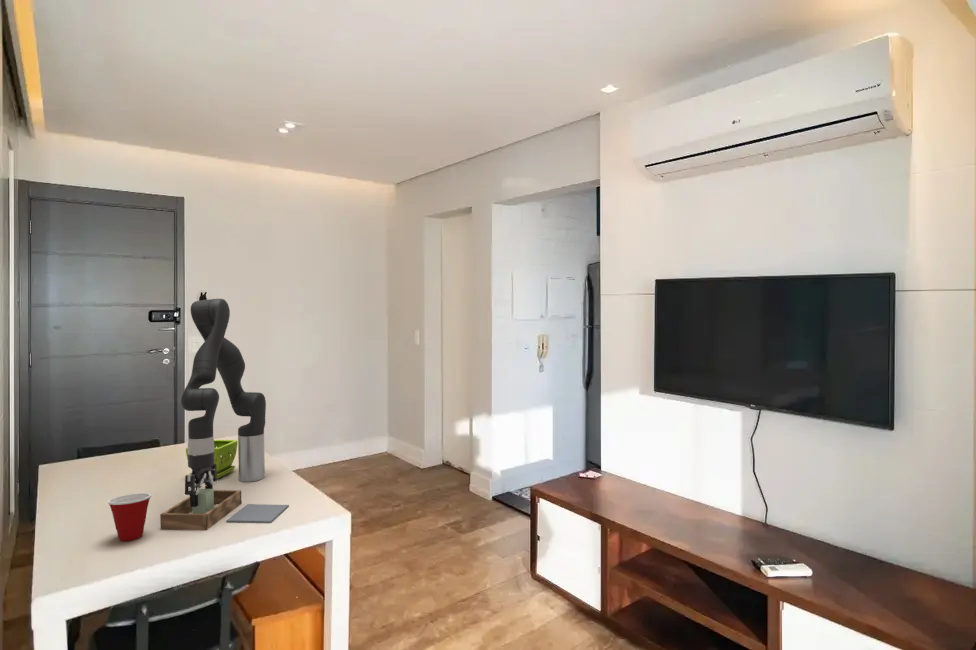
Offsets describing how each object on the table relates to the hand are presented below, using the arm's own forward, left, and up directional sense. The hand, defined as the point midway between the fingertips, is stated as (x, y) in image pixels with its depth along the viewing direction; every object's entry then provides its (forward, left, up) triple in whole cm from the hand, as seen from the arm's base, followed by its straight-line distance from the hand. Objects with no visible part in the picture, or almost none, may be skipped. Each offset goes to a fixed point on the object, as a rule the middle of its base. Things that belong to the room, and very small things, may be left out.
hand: (201, 501), depth 180 cm
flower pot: (-41, -19, -5) cm, 46 cm away
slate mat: (-2, +17, -5) cm, 18 cm away
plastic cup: (+17, -12, -5) cm, 21 cm away
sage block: (0, 0, -5) cm, 5 cm away
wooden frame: (0, 0, -5) cm, 5 cm away
